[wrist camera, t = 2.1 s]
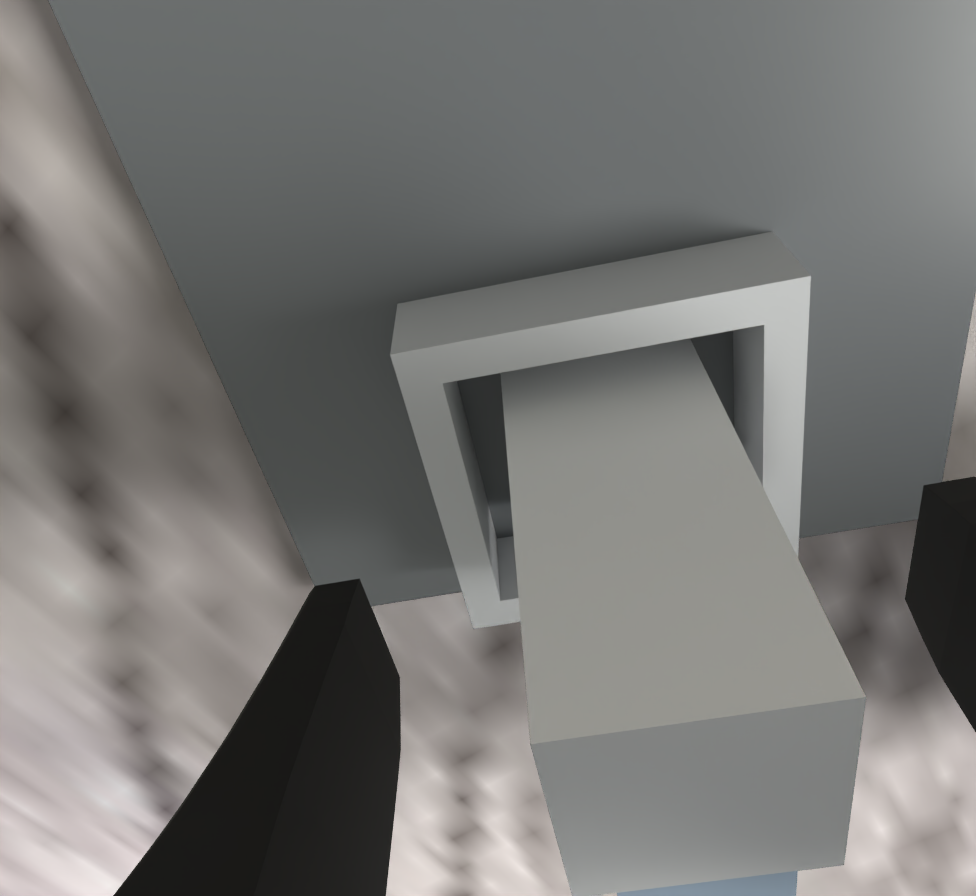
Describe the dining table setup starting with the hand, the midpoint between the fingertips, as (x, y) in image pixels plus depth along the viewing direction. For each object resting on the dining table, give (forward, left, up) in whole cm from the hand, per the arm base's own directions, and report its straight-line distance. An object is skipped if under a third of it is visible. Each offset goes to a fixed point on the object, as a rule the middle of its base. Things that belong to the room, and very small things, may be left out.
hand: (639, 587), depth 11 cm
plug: (0, 0, -4) cm, 4 cm away
